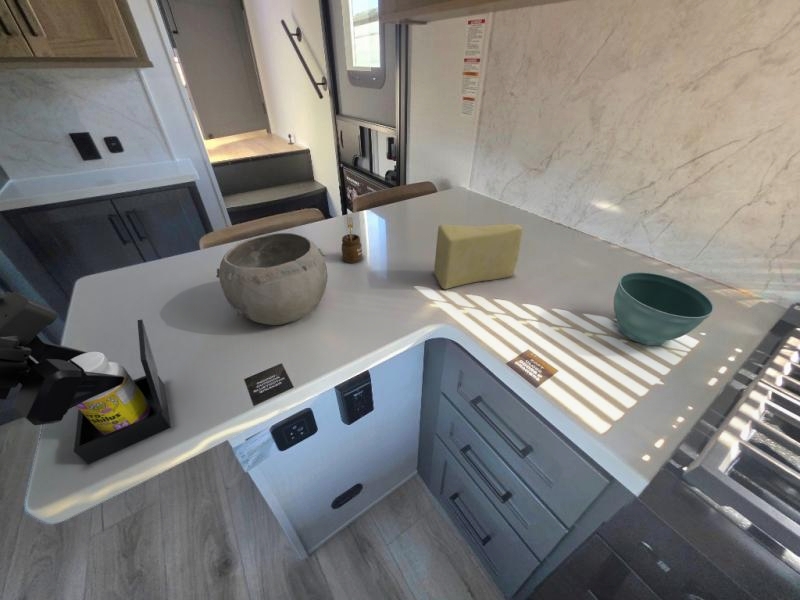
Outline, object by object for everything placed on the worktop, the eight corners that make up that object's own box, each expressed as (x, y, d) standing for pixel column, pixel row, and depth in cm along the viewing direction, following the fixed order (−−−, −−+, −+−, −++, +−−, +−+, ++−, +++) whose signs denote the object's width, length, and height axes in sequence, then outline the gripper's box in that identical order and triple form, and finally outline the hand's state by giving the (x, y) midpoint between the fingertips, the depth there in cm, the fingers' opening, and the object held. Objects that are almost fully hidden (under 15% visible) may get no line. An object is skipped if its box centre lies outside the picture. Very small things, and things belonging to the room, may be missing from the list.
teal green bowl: (700, 363, 64) (735, 321, 57) (614, 352, 66) (639, 311, 59) (661, 314, 77) (685, 276, 70) (590, 306, 79) (608, 268, 72)
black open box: (88, 464, 45) (73, 451, 43) (91, 413, 52) (79, 400, 50) (170, 427, 50) (161, 413, 48) (164, 385, 57) (155, 371, 55)
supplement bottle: (90, 438, 48) (34, 383, 40) (120, 401, 53) (76, 346, 45) (135, 438, 48) (88, 382, 40) (161, 401, 53) (123, 346, 46)
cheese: (504, 266, 94) (516, 218, 85) (520, 284, 86) (534, 233, 77) (432, 272, 91) (437, 222, 82) (441, 290, 83) (448, 238, 74)
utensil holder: (342, 264, 93) (338, 225, 86) (342, 254, 98) (339, 217, 91) (362, 263, 94) (360, 225, 87) (362, 253, 99) (359, 216, 92)
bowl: (301, 270, 90) (292, 219, 81) (350, 305, 77) (345, 249, 68) (217, 302, 77) (195, 246, 68) (258, 351, 64) (237, 290, 55)
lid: (140, 359, 42) (146, 358, 43) (137, 320, 49) (142, 319, 49) (157, 413, 48) (162, 411, 48) (152, 370, 54) (157, 369, 55)
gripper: (-7, 319, 28) (167, 337, 43) (-73, 267, 35) (96, 297, 50) (-66, 439, 27) (132, 416, 42) (-123, 361, 34) (64, 364, 49)
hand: (105, 368), depth 46 cm, fingers open, 9 cm apart
